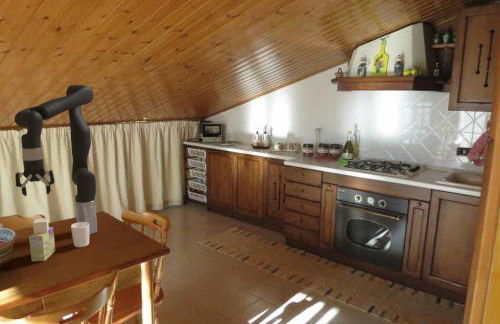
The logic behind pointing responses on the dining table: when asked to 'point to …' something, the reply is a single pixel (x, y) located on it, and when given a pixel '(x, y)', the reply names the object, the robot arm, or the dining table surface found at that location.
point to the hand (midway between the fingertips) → (36, 194)
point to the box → (42, 245)
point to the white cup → (80, 234)
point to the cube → (40, 225)
